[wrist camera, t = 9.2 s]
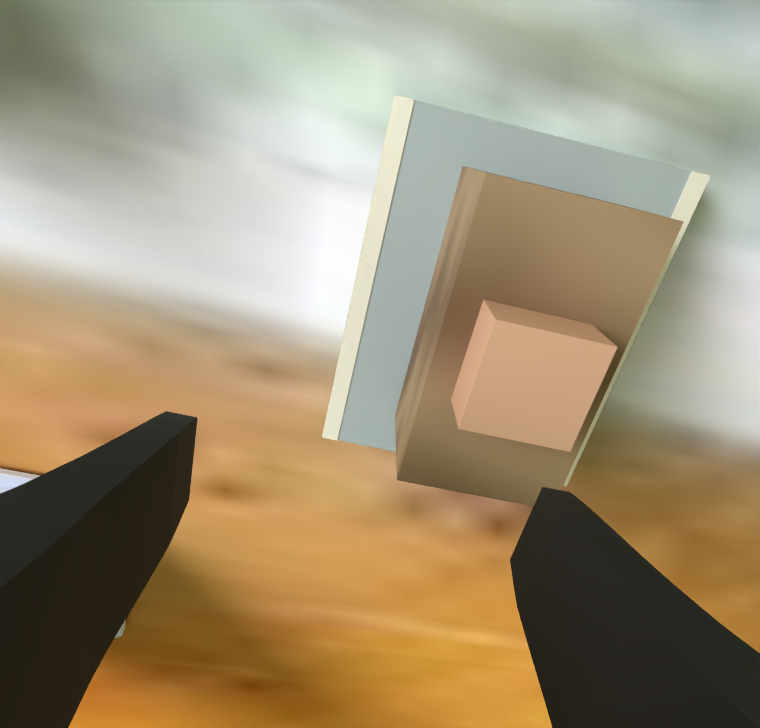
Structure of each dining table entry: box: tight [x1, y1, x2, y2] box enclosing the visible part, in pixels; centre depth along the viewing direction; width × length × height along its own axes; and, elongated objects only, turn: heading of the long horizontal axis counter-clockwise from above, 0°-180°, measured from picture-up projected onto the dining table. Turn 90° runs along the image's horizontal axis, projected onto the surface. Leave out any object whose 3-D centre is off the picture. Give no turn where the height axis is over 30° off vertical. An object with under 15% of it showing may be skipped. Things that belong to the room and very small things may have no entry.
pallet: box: [395, 166, 684, 506], centre depth 16 cm, size 9×5×4 cm, turn 167°
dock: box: [322, 95, 710, 486], centre depth 18 cm, size 12×10×2 cm
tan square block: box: [451, 300, 618, 452], centre depth 13 cm, size 3×3×2 cm
